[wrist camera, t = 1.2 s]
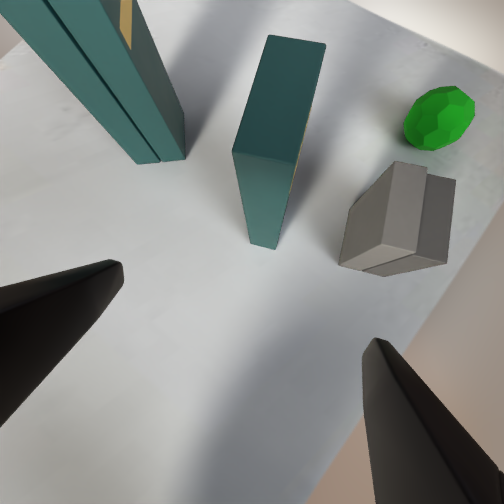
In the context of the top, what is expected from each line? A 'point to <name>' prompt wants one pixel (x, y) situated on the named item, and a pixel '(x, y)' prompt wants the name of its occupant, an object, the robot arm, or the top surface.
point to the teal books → (107, 69)
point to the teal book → (274, 132)
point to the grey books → (400, 222)
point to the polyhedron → (439, 118)
